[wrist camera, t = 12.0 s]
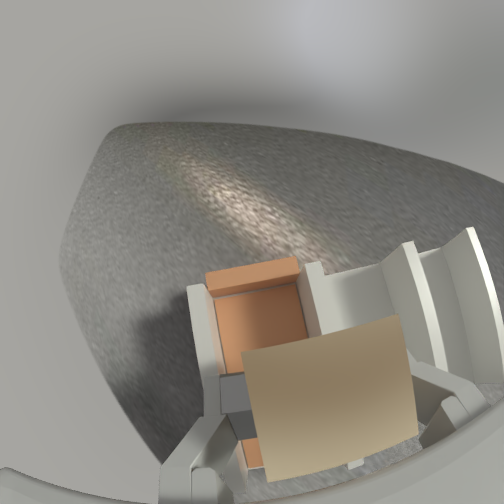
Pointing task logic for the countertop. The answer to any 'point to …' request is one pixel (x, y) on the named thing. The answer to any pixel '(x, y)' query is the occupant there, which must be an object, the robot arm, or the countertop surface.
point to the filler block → (331, 398)
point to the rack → (352, 315)
